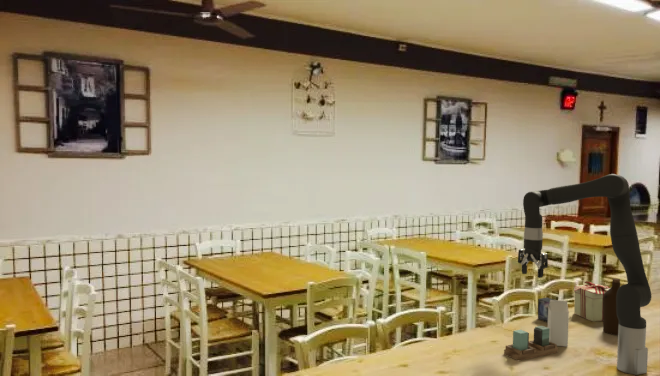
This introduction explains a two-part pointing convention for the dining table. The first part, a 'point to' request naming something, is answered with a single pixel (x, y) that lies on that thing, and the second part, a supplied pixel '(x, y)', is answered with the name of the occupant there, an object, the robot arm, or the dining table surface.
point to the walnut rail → (534, 346)
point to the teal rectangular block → (520, 340)
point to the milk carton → (558, 322)
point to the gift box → (589, 301)
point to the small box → (543, 308)
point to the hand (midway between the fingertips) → (532, 275)
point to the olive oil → (611, 309)
